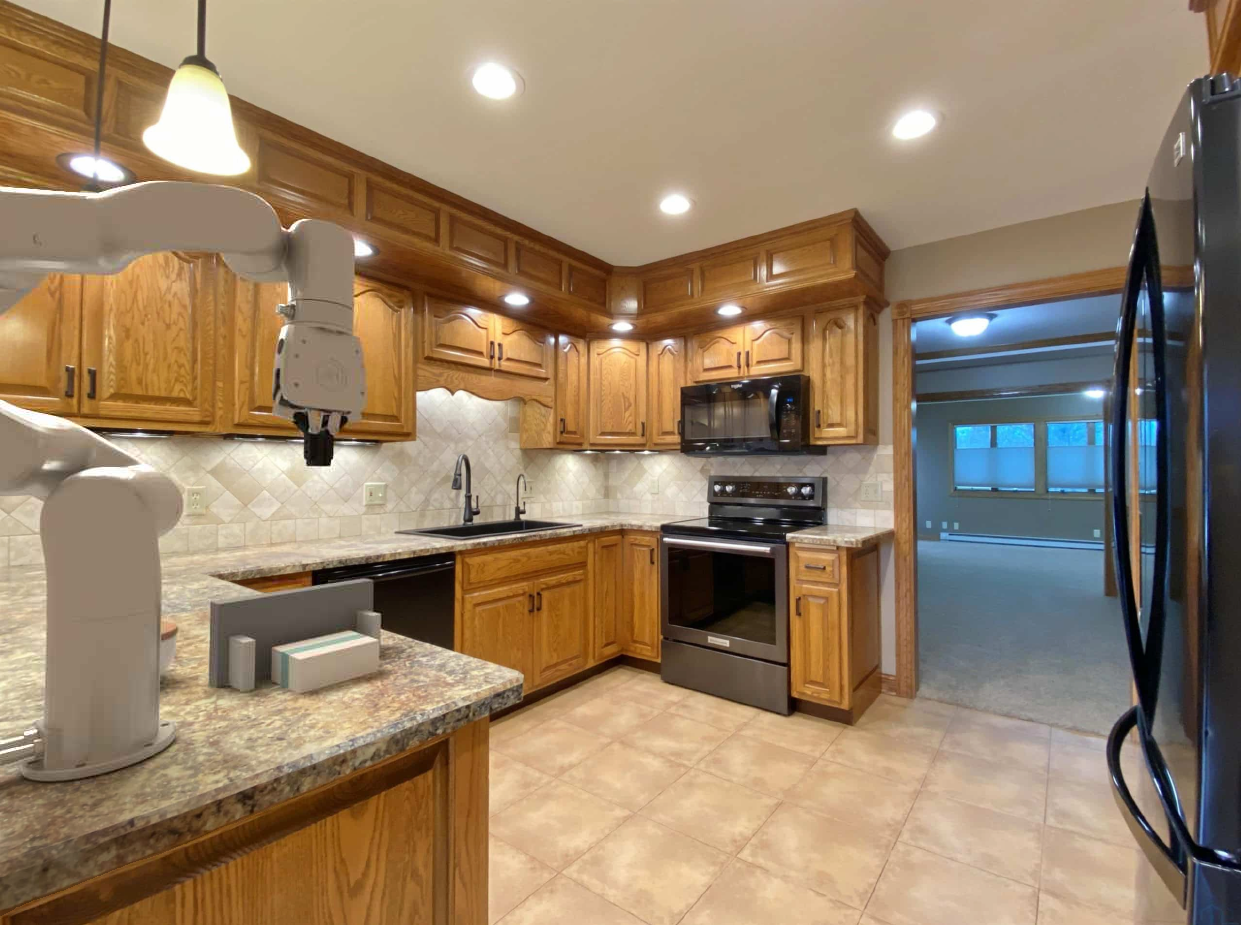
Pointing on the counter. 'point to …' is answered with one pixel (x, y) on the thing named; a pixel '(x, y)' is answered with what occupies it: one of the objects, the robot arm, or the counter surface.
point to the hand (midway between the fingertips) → (318, 465)
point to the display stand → (283, 626)
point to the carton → (324, 660)
